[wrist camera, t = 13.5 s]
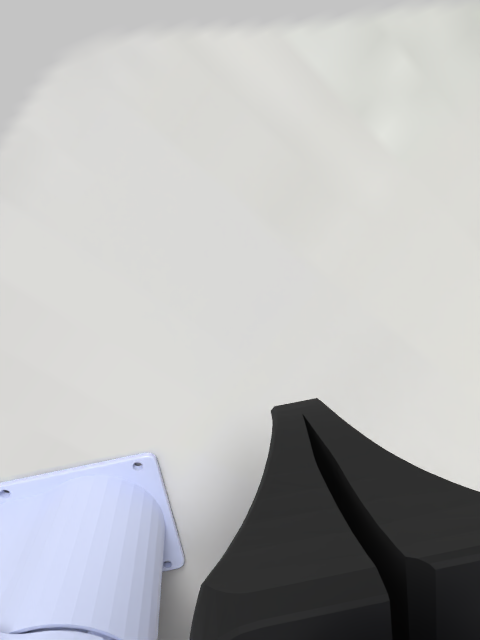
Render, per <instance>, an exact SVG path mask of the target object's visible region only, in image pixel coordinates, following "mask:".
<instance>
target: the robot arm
mask: <svg viewBox="0 0 480 640" xmlns="http://www.w3.org/2000/svg"><path fill="white" fill-rule="evenodd" d="M271 414H272V420H273V426H272V437H271V443H270V449H269V454H268V458H267V462H266V466H265V469H264V473H263V476H262V479H261V482H260V485H259V488H258V491H257V493H256V496H255V498H254V501H253V503H252V505H251V507H250V509H249V512H248V514H247V516H246V518H245V520H244V522H243V524H242V526H241V527H240V529H239V531H238V532H237V534H236V536H235V537H234V539H233V541H232V542H231V544H230V546H229V547H228V549H227V551H226V552H225V554H224V555H223V557H222V558H221V559H220V561H219V562H218V563H217V565H216V566H215V567H214V569H213V570H212V571H211V573H210V574H209V575H208V577H207V578H206V579H205V581H204V582H203V583H202V585H201V588H200V591H199V595H198V599H197V603H196V607H195V612H194V616H193V621H192V627H191V633H190V640H480V492H478V491H475V490H472V489H469V488H466V487H464V486H461V485H458V484H456V483H453V482H450V481H448V480H446V479H443V478H441V477H439V476H436V475H434V474H431V473H429V472H427V471H425V470H423V469H420V468H418V467H416V466H414V465H412V464H411V463H409V462H407V461H405V460H403V459H401V458H399V457H397V456H395V455H394V454H392V453H390V452H388V451H387V450H385V449H384V448H382V447H380V446H379V445H377V444H376V443H374V442H373V441H371V440H370V439H368V438H367V437H365V436H364V435H363V434H361V433H360V432H359V431H357V430H356V429H355V428H353V427H352V426H351V425H349V424H348V423H347V422H345V421H344V420H343V419H342V418H340V417H339V416H338V415H337V414H336V413H334V412H333V411H332V410H331V409H330V408H329V407H327V406H326V405H325V404H324V403H323V402H322V401H320V400H319V399H317V398H315V399H310V400H305V401H300V402H295V403H290V404H285V405H280V406H275V407H274V408H273V409H272V410H271ZM136 462H140V463H141V464H142V465H140V466H136V465H135V464H134V463H136ZM3 490H8V491H9V492H10V493H6V492H4V491H3ZM165 561H170V562H165ZM183 564H184V554H183V550H182V546H181V543H180V539H179V536H178V532H177V529H176V525H175V522H174V518H173V514H172V511H171V507H170V504H169V500H168V497H167V493H166V489H165V486H164V482H163V479H162V475H161V472H160V468H159V465H158V461H157V458H156V456H155V455H154V454H152V453H141V454H137V455H132V456H127V457H122V458H117V459H113V460H108V461H103V462H98V463H93V464H88V465H84V466H79V467H74V468H69V469H64V470H59V471H55V472H50V473H45V474H40V475H35V476H31V477H26V478H21V479H16V480H11V481H6V482H2V483H0V640H157V639H158V624H159V610H160V596H161V581H162V572H163V571H168V570H172V569H177V568H180V567H181V566H183Z"/></svg>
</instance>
